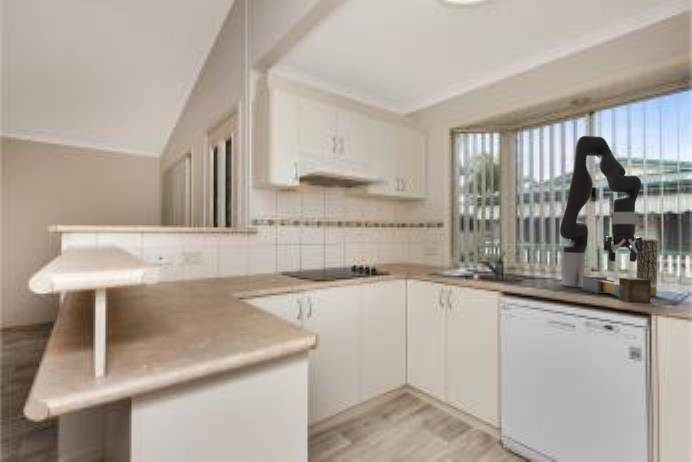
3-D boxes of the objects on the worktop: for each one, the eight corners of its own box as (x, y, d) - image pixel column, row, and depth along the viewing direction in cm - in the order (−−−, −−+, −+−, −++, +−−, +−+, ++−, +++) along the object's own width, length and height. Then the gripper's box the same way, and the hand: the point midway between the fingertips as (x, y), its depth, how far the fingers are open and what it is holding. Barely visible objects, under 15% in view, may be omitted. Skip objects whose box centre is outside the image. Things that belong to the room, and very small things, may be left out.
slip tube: (597, 290, 154) (597, 280, 154) (606, 290, 154) (606, 280, 154) (632, 298, 135) (632, 287, 135) (642, 299, 135) (643, 287, 135)
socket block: (619, 299, 139) (619, 277, 139) (639, 299, 139) (639, 278, 139) (629, 302, 134) (629, 279, 134) (650, 302, 134) (650, 279, 134)
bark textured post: (660, 297, 146) (661, 239, 146) (642, 296, 148) (643, 239, 148) (649, 294, 153) (650, 239, 153) (632, 293, 154) (633, 238, 154)
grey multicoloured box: (582, 289, 161) (582, 275, 161) (598, 290, 161) (598, 275, 161) (597, 293, 151) (597, 278, 151) (614, 294, 151) (614, 278, 151)
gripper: (633, 223, 146) (632, 260, 146) (600, 222, 146) (598, 260, 146) (648, 223, 138) (647, 262, 139) (613, 222, 139) (612, 262, 139)
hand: (622, 261), depth 143 cm, fingers open, 8 cm apart
